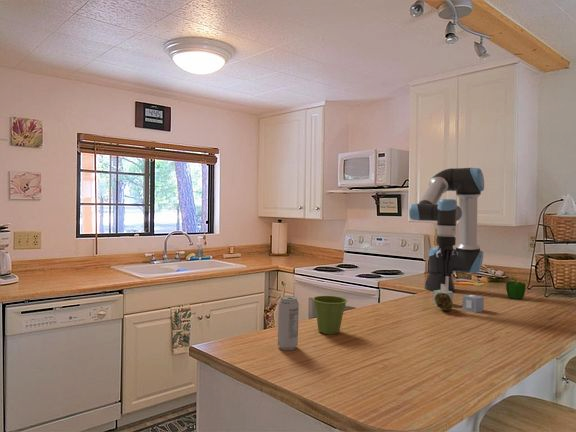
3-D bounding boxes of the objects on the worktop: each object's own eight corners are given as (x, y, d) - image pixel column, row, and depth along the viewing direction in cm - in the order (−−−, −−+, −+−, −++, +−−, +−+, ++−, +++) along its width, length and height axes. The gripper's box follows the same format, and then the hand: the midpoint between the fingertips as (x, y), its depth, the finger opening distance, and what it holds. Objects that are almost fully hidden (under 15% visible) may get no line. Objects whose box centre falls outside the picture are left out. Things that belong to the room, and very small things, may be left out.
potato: (459, 309, 186) (459, 291, 185) (447, 315, 176) (447, 295, 176) (440, 306, 191) (440, 288, 191) (427, 311, 182) (428, 292, 182)
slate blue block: (462, 309, 186) (462, 295, 186) (470, 308, 190) (470, 293, 190) (475, 312, 182) (475, 297, 181) (483, 311, 185) (483, 296, 185)
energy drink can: (286, 343, 134) (287, 294, 134) (301, 347, 130) (302, 297, 130) (273, 347, 130) (274, 297, 129) (288, 352, 126) (290, 300, 126)
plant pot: (318, 337, 141) (319, 303, 140) (307, 328, 152) (308, 296, 152) (352, 335, 144) (353, 302, 144) (338, 326, 155) (339, 294, 155)
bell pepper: (528, 300, 209) (529, 279, 209) (511, 300, 210) (511, 279, 209) (519, 297, 218) (520, 277, 218) (503, 296, 218) (503, 276, 218)
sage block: (432, 303, 197) (433, 290, 197) (441, 302, 201) (441, 288, 201) (444, 306, 192) (444, 292, 192) (452, 304, 196) (453, 291, 196)
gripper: (444, 236, 176) (443, 294, 176) (463, 236, 184) (461, 291, 184) (429, 235, 182) (427, 291, 182) (447, 235, 190) (445, 288, 190)
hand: (444, 291), depth 183 cm, fingers closed
